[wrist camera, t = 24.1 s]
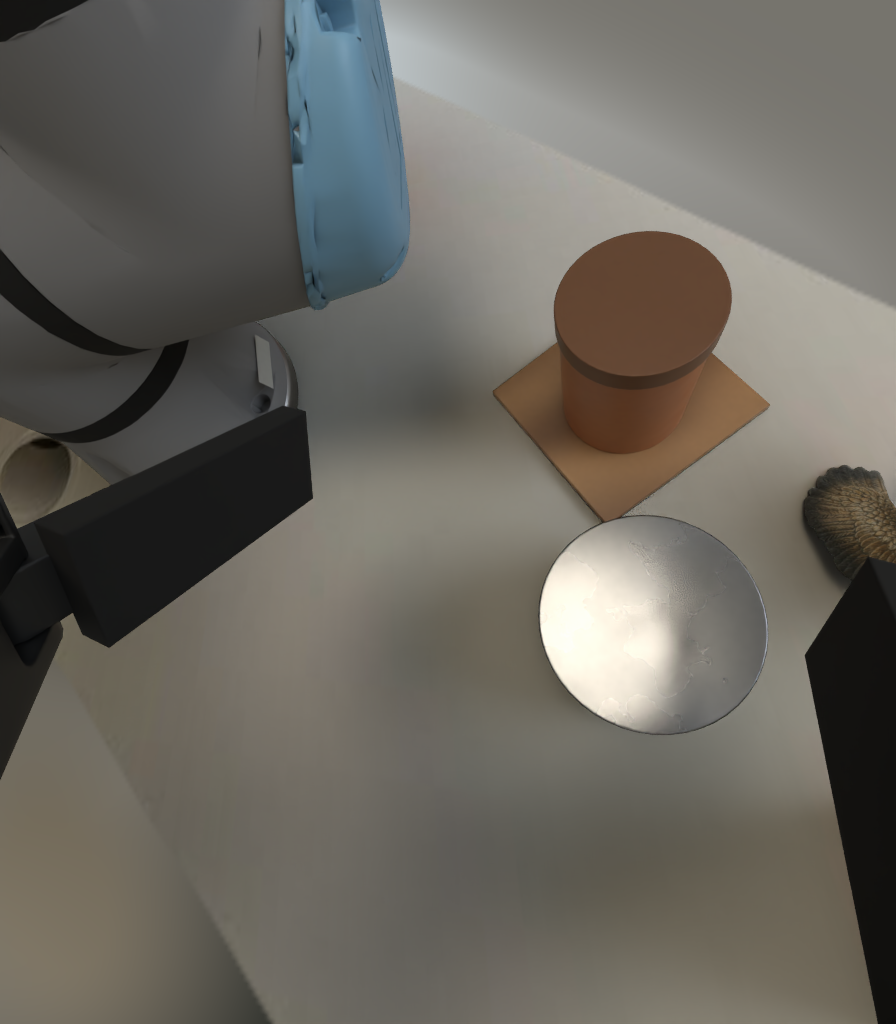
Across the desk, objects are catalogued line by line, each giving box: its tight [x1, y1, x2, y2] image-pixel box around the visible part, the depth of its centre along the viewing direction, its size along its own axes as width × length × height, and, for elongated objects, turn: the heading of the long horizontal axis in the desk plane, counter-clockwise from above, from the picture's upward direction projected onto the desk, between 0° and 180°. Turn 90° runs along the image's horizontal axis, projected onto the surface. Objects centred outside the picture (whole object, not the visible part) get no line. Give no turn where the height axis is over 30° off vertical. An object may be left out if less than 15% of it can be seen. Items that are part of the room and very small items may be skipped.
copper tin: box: [554, 231, 732, 454], centre depth 26 cm, size 7×7×9 cm
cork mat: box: [493, 342, 770, 522], centre depth 31 cm, size 11×11×1 cm
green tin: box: [538, 515, 768, 735], centre depth 24 cm, size 9×9×7 cm
